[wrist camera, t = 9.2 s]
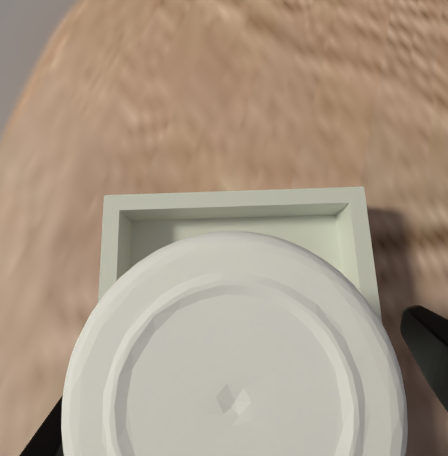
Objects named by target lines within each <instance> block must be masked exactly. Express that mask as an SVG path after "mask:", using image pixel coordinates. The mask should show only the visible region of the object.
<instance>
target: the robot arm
mask: <svg viewBox="0 0 448 456" xmlns="http://www.w3.org/2000/svg"><path fill="white" fill-rule="evenodd" d="M400 330H401V334H402V336H403V338H404V340H405V342H406V344H407V345H408V347H409V349H410V351H411V353H412V354H413V356H414V358H415V360H416V362H417V363H418V365H419V367H420V369H421V371H422V372H423V374H424V376H425V378H426V380H427V381H428V383H429V385H430V386H431V388H432V390H433V391H434V393H435V394H436V396H437V397H438V399H439V400H440V402H441V403H442V404H443V406H444V407H445V409H446V410H447V412H448V320H447V319H445V318H443V317H442V316H440V315H438V314H436V313H434V312H432V311H430V310H428V309H426V308H424V307H422V306H419V305H415V306H411V307H407V308H405V309H404V310H403V314H402V320H401V326H400ZM62 398H63V395H62V397H61V398H60V400H59V401H58V402H57V404H56V405H55V407H54V408H53V409H52V411H51V412H50V414H49V415H48V416H47V418H46V419H45V421H44V422H43V423H42V425H41V426H40V428H39V429H38V430H37V432H36V433H35V435H34V436H33V438H32V439H31V440H30V442H29V443H28V445H27V446H26V447H25V449H24V450H23V452H22V453H21V454H20V456H64V452H63V444H62V432H61V417H62Z"/></svg>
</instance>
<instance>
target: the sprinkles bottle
mask: <svg viewBox="0 0 448 456" xmlns="http://www.w3.org/2000/svg"><path fill="white" fill-rule="evenodd" d="M61 432H62V444H63V452H64V456H405V454H406V447H407V437H408V420H407V401H406V395H405V389H404V384H403V378H402V373H401V369H400V366H399V363H398V360H397V357H396V354H395V351H394V348H393V346H392V343H391V341H390V339H389V337H388V334H387V332H386V330H385V328H384V326H383V325H382V323H381V321H380V319H379V318H378V316H377V315H376V313H375V311H374V310H373V308H372V307H371V305H370V304H369V303H368V301H367V300H366V299H365V298H364V296H363V295H362V294H361V293H360V292H359V291H358V289H357V288H356V287H355V286H354V285H353V284H352V283H351V282H350V281H349V280H348V279H347V278H346V277H345V276H344V275H343V274H342V273H341V272H340V271H339V270H337V269H336V268H335V267H333V266H332V265H331V264H329V263H328V262H327V261H325V260H324V259H322V258H321V257H319V256H317V255H316V254H314V253H312V252H311V251H309V250H307V249H305V248H303V247H301V246H299V245H296V244H294V243H292V242H289V241H286V240H284V239H281V238H278V237H275V236H271V235H267V234H260V233H255V232H246V231H219V232H211V233H205V234H200V235H196V236H192V237H189V238H186V239H182V240H179V241H176V242H174V243H172V244H169V245H167V246H165V247H163V248H160V249H158V250H157V251H155V252H153V253H152V254H150V255H149V256H147V257H146V258H144V259H143V260H141V261H139V262H138V263H136V264H135V265H134V266H133V267H132V268H131V269H129V270H128V271H127V272H126V273H125V274H123V275H122V276H121V277H120V278H119V279H118V280H117V281H116V282H115V283H114V284H113V285H112V286H111V288H110V289H109V290H108V291H107V292H106V293H105V294H104V295H103V297H102V298H101V300H100V301H99V303H98V304H97V306H96V307H95V308H94V310H93V311H92V313H91V314H90V316H89V318H88V320H87V322H86V324H85V326H84V328H83V330H82V332H81V334H80V336H79V338H78V340H77V342H76V344H75V347H74V350H73V352H72V355H71V358H70V362H69V366H68V369H67V374H66V378H65V384H64V391H63V398H62V417H61Z"/></svg>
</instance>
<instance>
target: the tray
mask: <svg viewBox="0 0 448 456" xmlns="http://www.w3.org/2000/svg"><path fill="white" fill-rule="evenodd" d="M219 231H246V232H255V233H260V234H267V235H271V236H275V237H278V238H281V239H284V240H286V241H289V242H292V243H294V244H296V245H299V246H301V247H303V248H305V249H307V250H309V251H311V252H312V253H314V254H316V255H317V256H319V257H321V258H322V259H324V260H325V261H327V262H328V263H329V264H331V265H332V266H333V267H335V268H336V269H337V270H339V271H340V272H341V273H342V274H343V275H344V276H345V277H346V278H347V279H348V280H349V281H350V282H351V283H352V284H353V285H354V286H355V287H356V288H357V289H358V291H359V292H360V293H361V294H362V295H363V296H364V298H365V299H366V300H367V301H368V303H369V304H370V305H371V307H372V308H373V310H374V311H375V313H376V315H377V316H378V318H379V319H380V321H381V323H382V317H381V310H380V303H379V295H378V288H377V280H376V273H375V266H374V258H373V251H372V243H371V236H370V229H369V221H368V214H367V206H366V199H365V192H364V187H341V188H311V189H281V190H251V191H221V192H191V193H161V194H131V195H104V206H103V225H102V243H101V261H100V279H99V298H98V303H99V301H100V300H101V298H102V297H103V295H104V294H105V293H106V292H107V291H108V290H109V289H110V288H111V286H112V285H113V284H114V283H115V282H116V281H117V280H118V279H119V278H120V277H121V276H122V275H123V274H125V273H126V272H127V271H128V270H129V269H131V268H132V267H133V266H134V265H135V264H136V263H138V262H139V261H141V260H143V259H144V258H146V257H147V256H149V255H150V254H152V253H153V252H155V251H157V250H158V249H160V248H163V247H165V246H167V245H169V244H172V243H174V242H176V241H179V240H182V239H186V238H189V237H192V236H196V235H200V234H205V233H211V232H219Z"/></svg>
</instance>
